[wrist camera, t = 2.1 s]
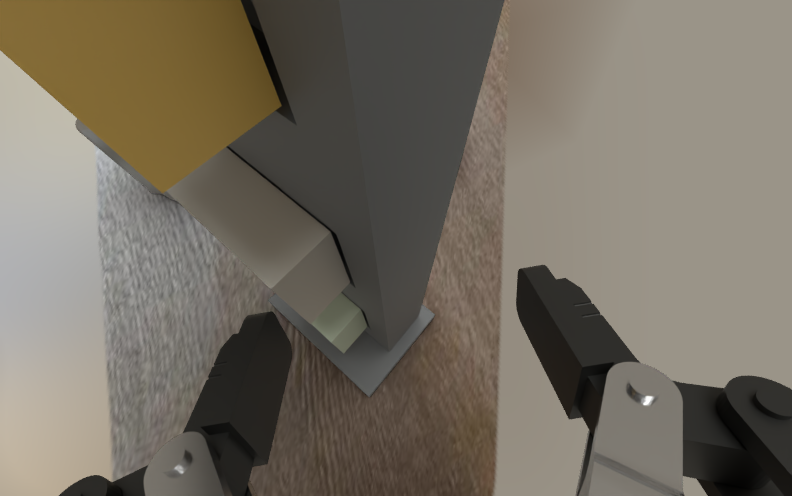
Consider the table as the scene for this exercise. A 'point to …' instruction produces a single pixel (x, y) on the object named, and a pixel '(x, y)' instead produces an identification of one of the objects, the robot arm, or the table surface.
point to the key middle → (265, 232)
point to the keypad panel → (370, 146)
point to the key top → (146, 74)
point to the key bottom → (341, 322)
